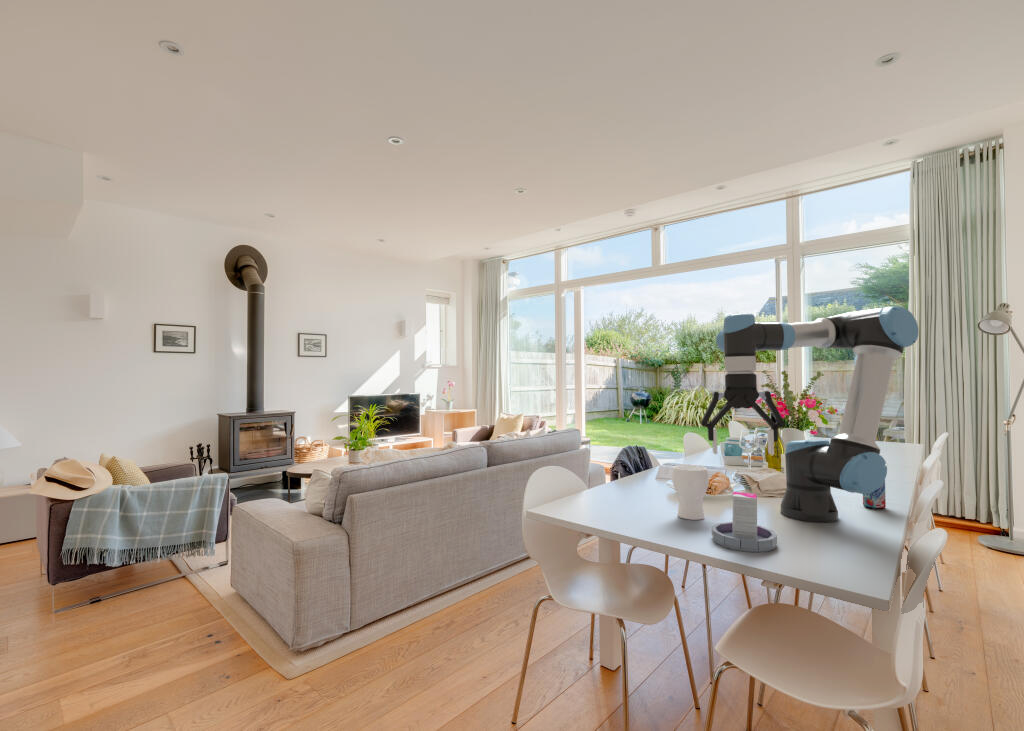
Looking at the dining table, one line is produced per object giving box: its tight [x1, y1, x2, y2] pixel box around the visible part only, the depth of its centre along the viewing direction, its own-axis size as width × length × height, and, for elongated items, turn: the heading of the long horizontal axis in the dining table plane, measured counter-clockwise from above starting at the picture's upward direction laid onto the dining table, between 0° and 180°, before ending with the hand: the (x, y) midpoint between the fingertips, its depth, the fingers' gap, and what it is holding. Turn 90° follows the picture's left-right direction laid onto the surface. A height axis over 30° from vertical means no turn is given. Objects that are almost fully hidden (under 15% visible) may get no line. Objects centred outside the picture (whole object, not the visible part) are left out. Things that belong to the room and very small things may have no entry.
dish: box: [711, 521, 778, 553], centre depth 127 cm, size 15×15×3 cm
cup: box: [671, 464, 710, 521], centre depth 150 cm, size 11×11×15 cm
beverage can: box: [862, 479, 887, 511], centre depth 158 cm, size 6×6×15 cm
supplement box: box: [732, 491, 758, 540], centre depth 127 cm, size 6×6×12 cm
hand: (742, 453), depth 128 cm, fingers open, 13 cm apart
